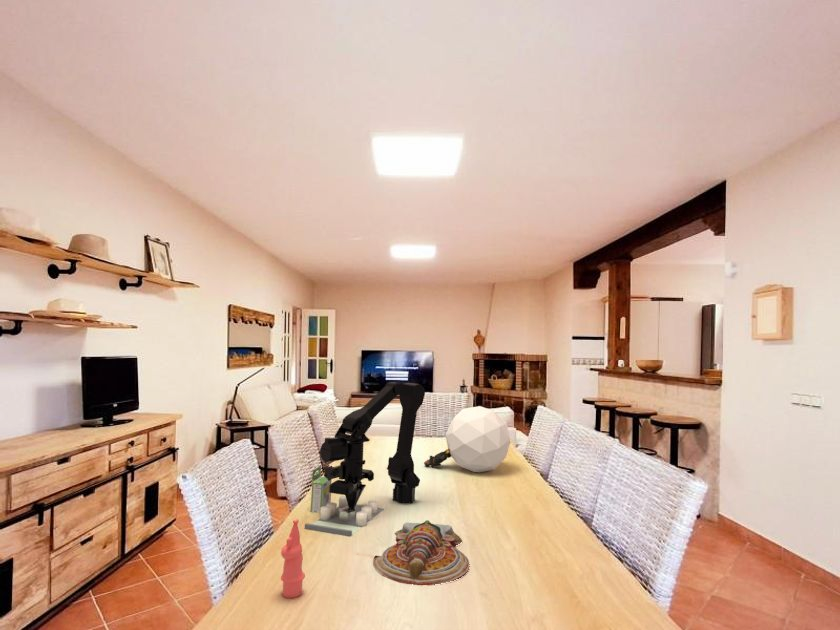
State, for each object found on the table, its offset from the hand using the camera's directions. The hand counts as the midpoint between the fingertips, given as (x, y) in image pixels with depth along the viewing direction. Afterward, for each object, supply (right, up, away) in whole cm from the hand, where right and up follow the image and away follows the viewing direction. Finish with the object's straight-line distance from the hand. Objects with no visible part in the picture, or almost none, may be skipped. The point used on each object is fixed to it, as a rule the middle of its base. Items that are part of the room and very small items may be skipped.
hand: (351, 510), depth 146 cm
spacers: (0, -1, -1) cm, 2 cm away
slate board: (-1, -2, -3) cm, 3 cm away
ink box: (-10, -3, +4) cm, 11 cm away
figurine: (-6, 0, -44) cm, 45 cm away
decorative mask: (+21, -2, -25) cm, 33 cm away
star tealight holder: (-1, -1, -3) cm, 3 cm away
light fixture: (+41, -8, +62) cm, 74 cm away
